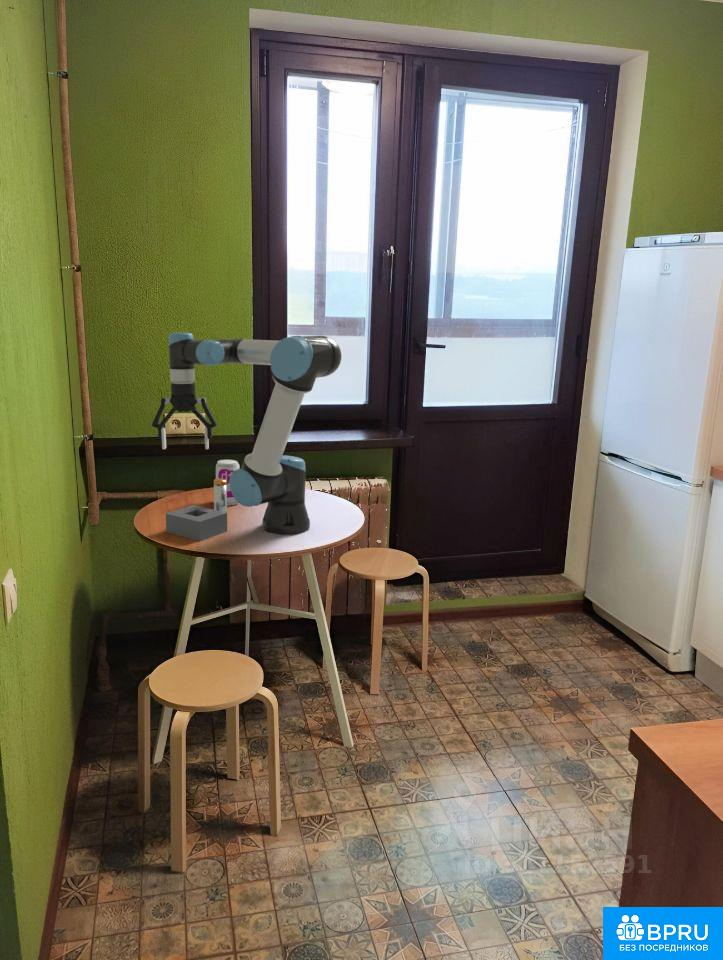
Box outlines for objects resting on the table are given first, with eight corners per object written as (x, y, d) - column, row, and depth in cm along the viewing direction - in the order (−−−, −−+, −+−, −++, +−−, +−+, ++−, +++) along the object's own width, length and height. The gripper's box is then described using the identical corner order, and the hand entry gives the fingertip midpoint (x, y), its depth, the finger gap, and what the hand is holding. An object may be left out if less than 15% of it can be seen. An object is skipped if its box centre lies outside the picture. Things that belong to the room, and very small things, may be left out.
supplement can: (237, 506, 257) (237, 464, 253) (213, 505, 257) (213, 463, 253) (241, 500, 265) (241, 459, 261) (218, 499, 265) (218, 458, 261)
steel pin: (229, 521, 240) (229, 479, 236) (221, 524, 236) (220, 482, 233) (220, 519, 242) (219, 478, 238) (211, 522, 238) (211, 480, 235)
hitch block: (227, 531, 230) (227, 512, 229) (200, 541, 220) (200, 521, 218) (193, 522, 237) (193, 505, 235) (166, 532, 227) (165, 513, 225)
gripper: (224, 381, 237) (226, 446, 242) (145, 381, 236) (149, 446, 241) (221, 383, 230) (223, 450, 235) (139, 383, 229) (143, 450, 233)
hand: (185, 448), depth 238 cm, fingers open, 13 cm apart
